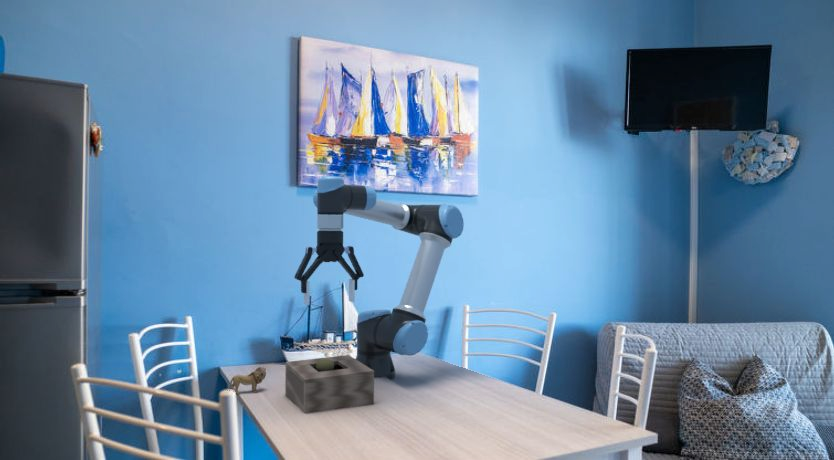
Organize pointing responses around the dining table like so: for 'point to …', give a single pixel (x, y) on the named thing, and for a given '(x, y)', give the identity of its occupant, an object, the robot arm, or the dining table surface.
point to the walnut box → (329, 384)
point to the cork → (325, 365)
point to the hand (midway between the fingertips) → (329, 303)
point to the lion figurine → (249, 379)
